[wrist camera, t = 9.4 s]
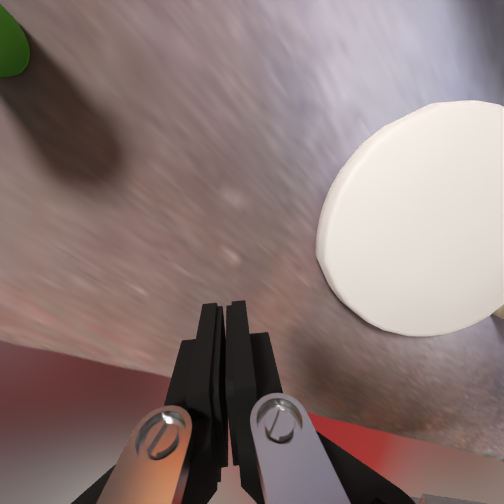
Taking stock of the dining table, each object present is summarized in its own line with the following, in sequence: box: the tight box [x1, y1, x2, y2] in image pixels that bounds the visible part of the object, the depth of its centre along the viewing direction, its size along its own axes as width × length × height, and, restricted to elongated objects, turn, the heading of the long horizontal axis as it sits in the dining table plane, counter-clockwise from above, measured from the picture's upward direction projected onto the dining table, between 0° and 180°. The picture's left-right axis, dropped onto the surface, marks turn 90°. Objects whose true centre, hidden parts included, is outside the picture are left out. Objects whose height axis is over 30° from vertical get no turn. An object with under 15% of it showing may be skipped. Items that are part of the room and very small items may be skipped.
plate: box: [316, 100, 504, 337], centre depth 28 cm, size 28×6×27 cm
